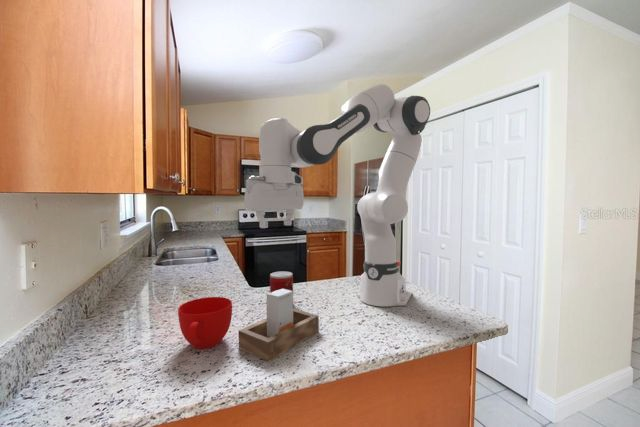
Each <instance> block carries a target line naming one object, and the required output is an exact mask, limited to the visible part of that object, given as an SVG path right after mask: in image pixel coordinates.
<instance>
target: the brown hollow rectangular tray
mask: <svg viewBox="0 0 640 427" xmlns="http://www.w3.org/2000/svg"><path fill="white" fill-rule="evenodd" d="M319 320H320V318H319V315H317V314H314V313H311V312H307V311H303V310H300V309H296V308H293V326H291V327H289V328H287V329H285V330H283V331H281V332H279V333H277V334H275V335H273V336H271V337H269V338H267V317H265V318H264V319H261V320H259V321H258V322H255V323H253V324H250V325H248V326H245V327H244V328H241V329H240V330H238V331H237V333H238V349H240V350H242V351H243V352H246V353H248V354H250V355H251V356H252V355H253V356H255V357H257V358H259V359H261V360H263V361H266V362H268V363H269V362H270V361H272V360H274V359H276V358H277V357H279V356H280V355H283V354H284V353H286V352H287V351H289V350H291V349H292V348H294V347H296V346H297V345H299V344H300V343H302V342H304V341H306V340H307V339H309V338H310V337H312V336H313V335H315V334H318V333H319V331H320V329H319V328H320V327H319V326H320V325H319V324H320V321H319Z"/></svg>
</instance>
